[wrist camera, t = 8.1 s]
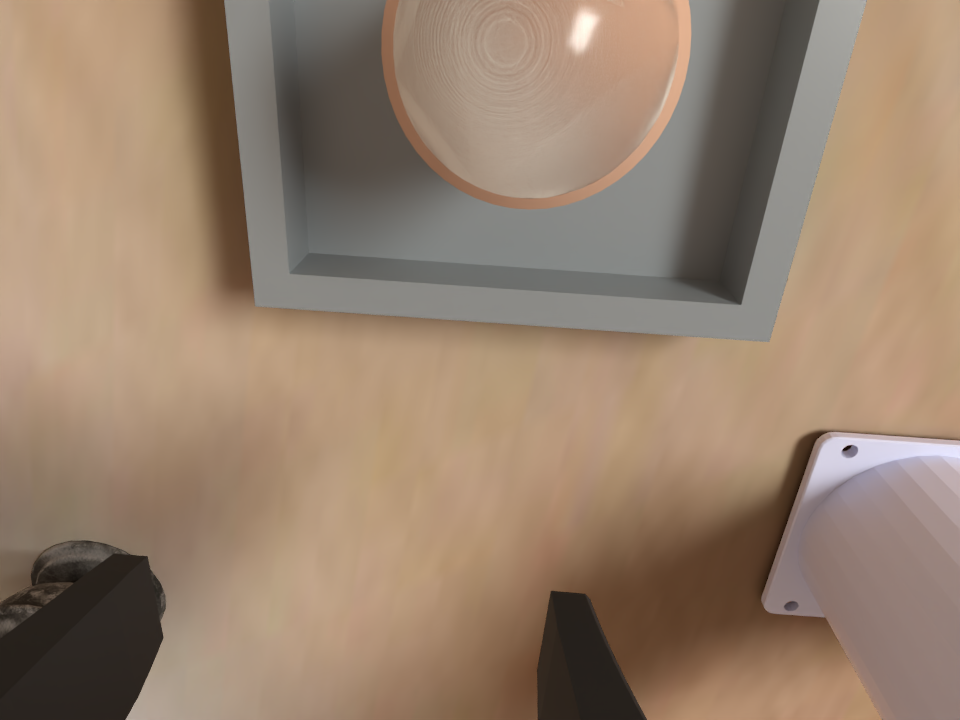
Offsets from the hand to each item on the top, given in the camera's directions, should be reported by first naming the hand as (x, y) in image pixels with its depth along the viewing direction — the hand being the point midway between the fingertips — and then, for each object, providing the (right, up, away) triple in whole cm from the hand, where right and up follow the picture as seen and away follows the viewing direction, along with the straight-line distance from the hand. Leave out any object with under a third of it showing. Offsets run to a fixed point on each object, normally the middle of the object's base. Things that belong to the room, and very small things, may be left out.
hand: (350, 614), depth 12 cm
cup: (+3, +12, +5) cm, 14 cm away
